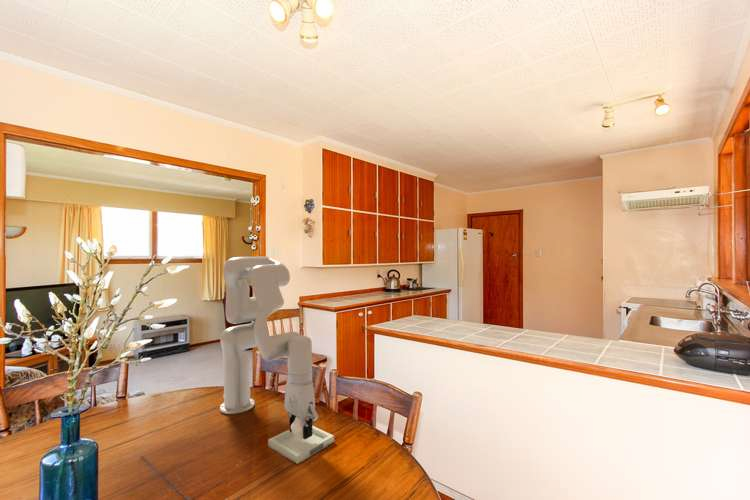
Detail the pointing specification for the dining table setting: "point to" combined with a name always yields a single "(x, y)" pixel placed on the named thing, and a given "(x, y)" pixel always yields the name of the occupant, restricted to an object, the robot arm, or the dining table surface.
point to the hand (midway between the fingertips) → (300, 433)
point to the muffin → (298, 427)
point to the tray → (300, 444)
